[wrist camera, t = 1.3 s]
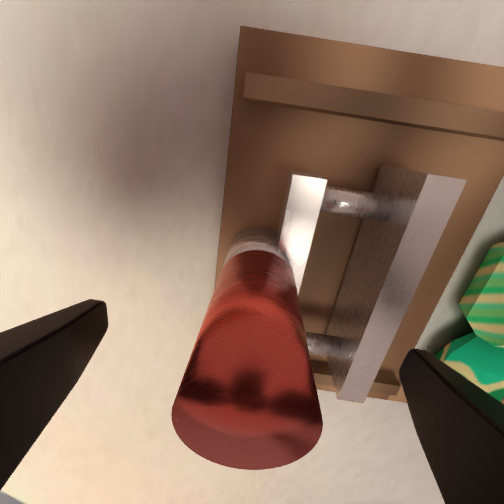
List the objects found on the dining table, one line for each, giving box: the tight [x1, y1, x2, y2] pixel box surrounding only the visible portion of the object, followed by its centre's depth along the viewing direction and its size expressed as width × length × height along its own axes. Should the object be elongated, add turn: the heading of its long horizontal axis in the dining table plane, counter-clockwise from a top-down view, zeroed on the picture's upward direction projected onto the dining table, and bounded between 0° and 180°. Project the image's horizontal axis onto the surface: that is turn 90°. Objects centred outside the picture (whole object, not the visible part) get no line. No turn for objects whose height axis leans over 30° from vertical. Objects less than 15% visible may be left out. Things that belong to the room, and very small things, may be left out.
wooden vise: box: [215, 26, 504, 404], centre depth 12 cm, size 21×18×6 cm
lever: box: [172, 165, 467, 470], centre depth 9 cm, size 7×10×8 cm
